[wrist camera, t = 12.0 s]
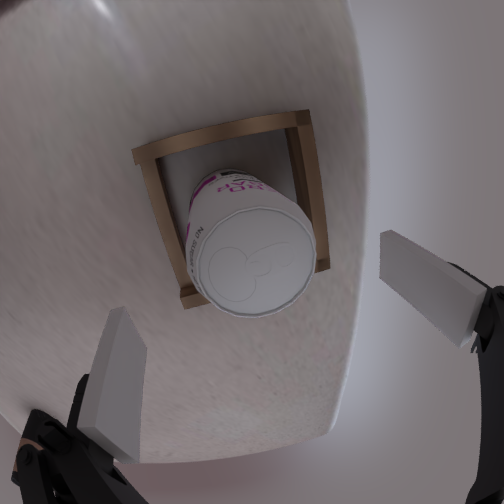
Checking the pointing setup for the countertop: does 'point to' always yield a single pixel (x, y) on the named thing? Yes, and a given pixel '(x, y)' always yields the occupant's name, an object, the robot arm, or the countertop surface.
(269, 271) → the supplement can
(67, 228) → the countertop surface
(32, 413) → the travel mug
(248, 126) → the dock bay
